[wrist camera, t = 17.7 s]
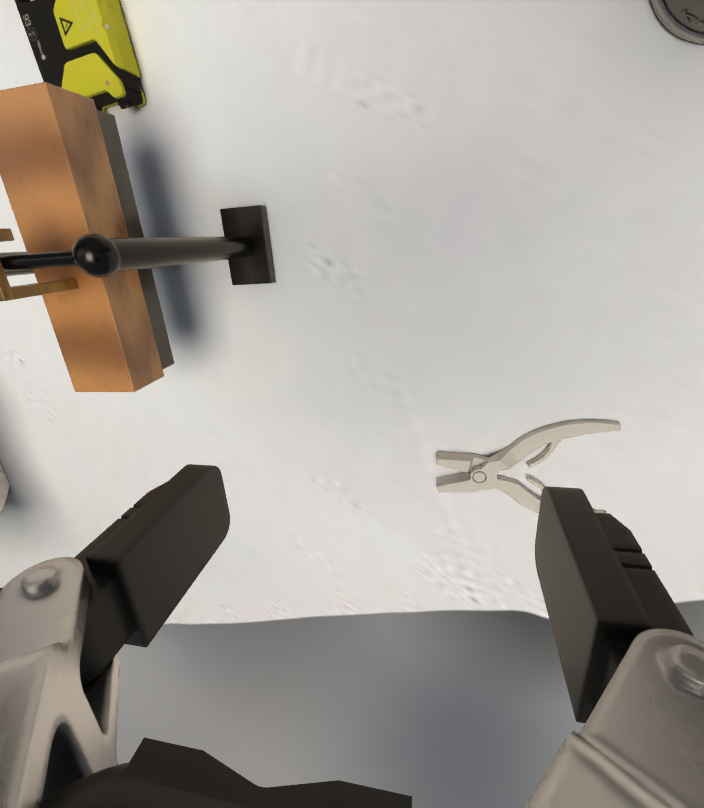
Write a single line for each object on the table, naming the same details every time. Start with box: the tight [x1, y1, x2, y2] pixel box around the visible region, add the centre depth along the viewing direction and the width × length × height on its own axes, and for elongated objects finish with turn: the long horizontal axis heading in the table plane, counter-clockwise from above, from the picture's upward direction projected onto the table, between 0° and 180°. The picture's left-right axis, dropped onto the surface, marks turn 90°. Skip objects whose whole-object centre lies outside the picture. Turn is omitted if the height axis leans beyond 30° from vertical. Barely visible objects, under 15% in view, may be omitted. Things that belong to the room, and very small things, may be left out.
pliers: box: [436, 419, 621, 514], centre depth 38 cm, size 10×2×15 cm
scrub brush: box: [0, 82, 174, 392], centre depth 27 cm, size 18×5×11 cm, turn 4°
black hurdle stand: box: [0, 205, 275, 285], centre depth 29 cm, size 6×19×18 cm, turn 94°
